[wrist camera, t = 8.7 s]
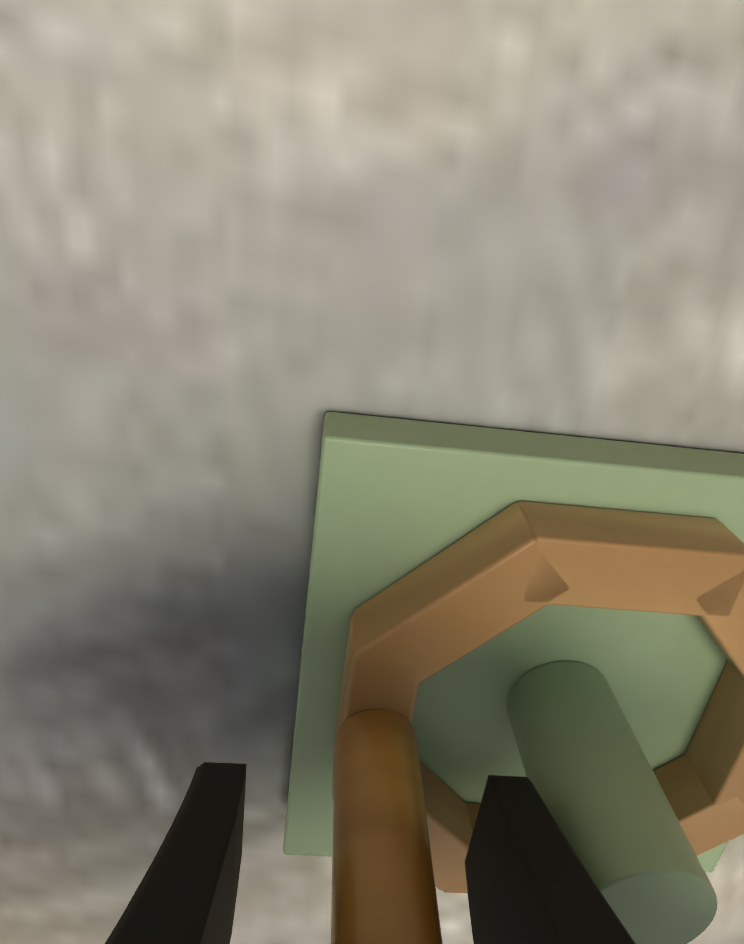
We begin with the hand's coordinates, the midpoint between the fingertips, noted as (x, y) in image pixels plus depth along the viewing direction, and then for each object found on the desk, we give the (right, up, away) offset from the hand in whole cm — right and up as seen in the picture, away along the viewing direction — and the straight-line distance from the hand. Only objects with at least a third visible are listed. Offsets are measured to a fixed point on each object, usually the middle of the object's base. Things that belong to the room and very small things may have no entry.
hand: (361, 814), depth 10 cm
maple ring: (+4, +1, +3) cm, 5 cm away
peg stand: (+4, +1, +4) cm, 5 cm away
